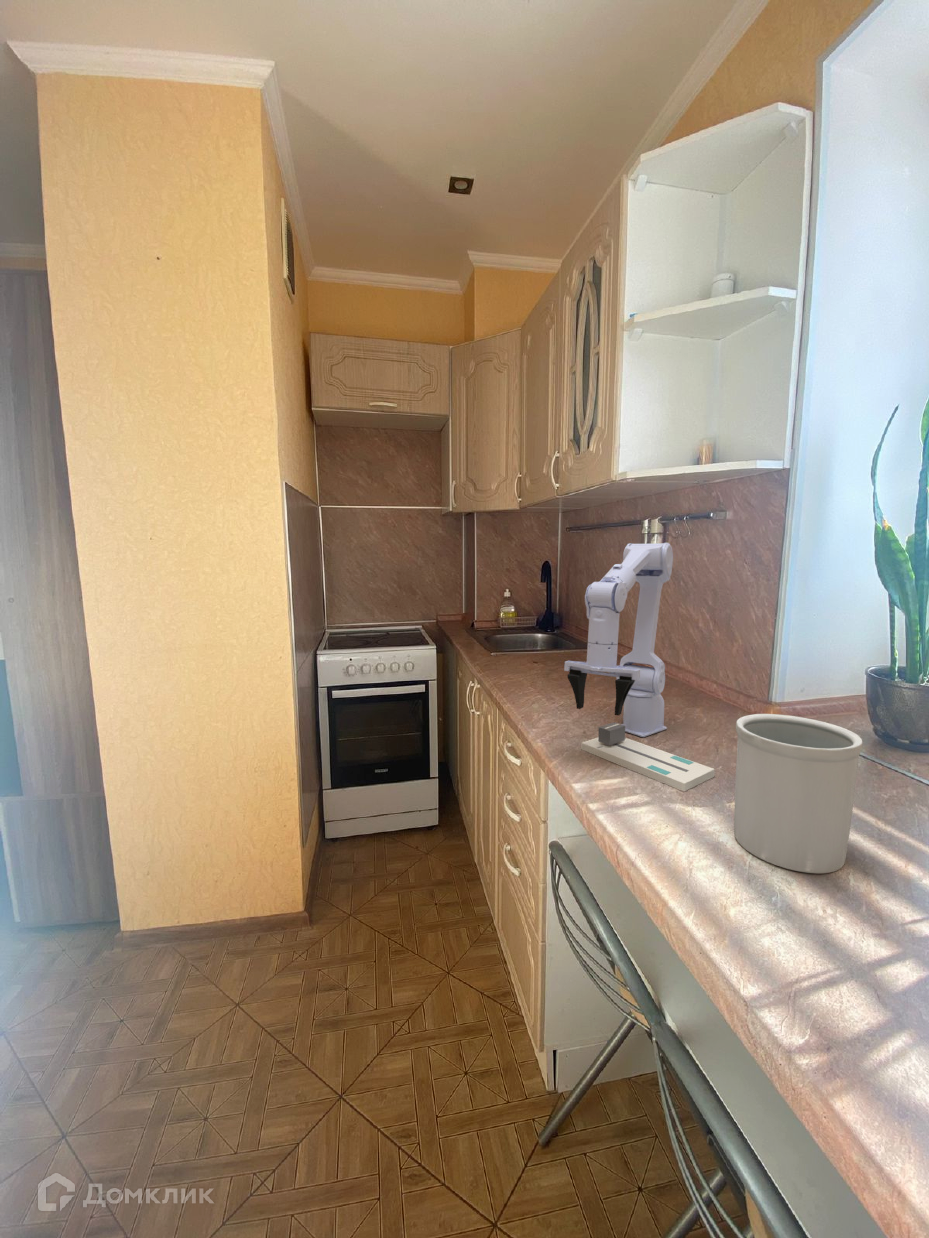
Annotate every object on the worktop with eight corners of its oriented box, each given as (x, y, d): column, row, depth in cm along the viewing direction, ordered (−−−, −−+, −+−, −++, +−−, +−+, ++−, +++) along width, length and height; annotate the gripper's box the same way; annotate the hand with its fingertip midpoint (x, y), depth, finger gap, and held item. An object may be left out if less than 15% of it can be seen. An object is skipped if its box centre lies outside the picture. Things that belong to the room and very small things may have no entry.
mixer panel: (611, 739, 115) (611, 732, 115) (714, 776, 96) (714, 768, 96) (581, 749, 110) (581, 742, 109) (684, 791, 90) (684, 783, 90)
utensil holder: (740, 808, 84) (747, 706, 82) (853, 839, 75) (864, 725, 73) (718, 849, 73) (725, 732, 71) (847, 892, 64) (860, 759, 61)
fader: (613, 736, 112) (613, 721, 111) (624, 740, 109) (625, 725, 109) (598, 741, 109) (598, 726, 108) (609, 745, 106) (610, 730, 106)
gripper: (560, 641, 100) (556, 708, 101) (635, 648, 93) (630, 721, 94) (573, 638, 106) (569, 702, 107) (644, 645, 99) (639, 714, 99)
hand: (598, 711), depth 101 cm, fingers open, 7 cm apart
